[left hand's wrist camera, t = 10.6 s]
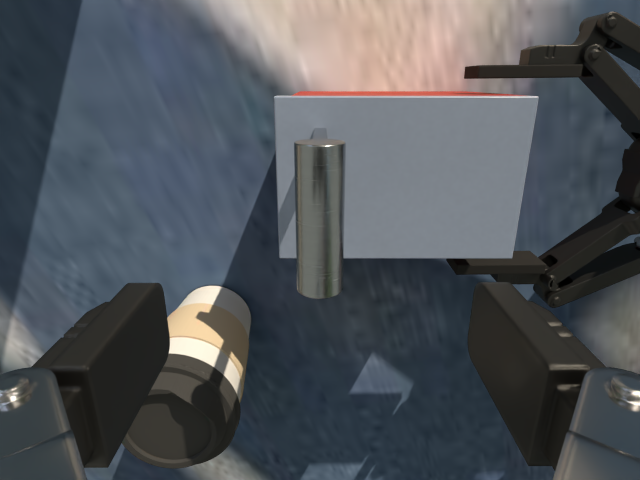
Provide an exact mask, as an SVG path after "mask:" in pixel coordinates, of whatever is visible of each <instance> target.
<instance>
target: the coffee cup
mask: <svg viewBox="0 0 640 480" xmlns="http://www.w3.org/2000/svg"><path fill="white" fill-rule="evenodd" d="M167 320H168V327H169V334H170V349H169V355H168V358H167V361H166V363H165V365H164V366H163V368H162V370H161V372H160V374H159V376H158V377H157V379H156V381H155V383H154V385H153V387H152V388H151V390H150V392H149V394H148V396H147V397H146V399H145V401H144V403H143V405H142V407H141V408H140V410H139V412H138V414H137V416H136V417H135V419H134V421H133V423H132V425H131V427H130V428H129V430H128V432H127V434H126V436H125V437H124V439H123V441H122V444H123V445H124V447H125V448H126V449H127V450H128V451H129V452H130V453H132V454H133V455H134V456H136V457H137V458H139V459H140V460H142V461H144V462H146V463H149V464H151V465H155V466H158V467H163V468H184V467H189V466H192V465H195V464H200V463H203V462H206V461H208V460H210V459H213V458H214V457H216V456H218V455H219V454H220V453H222V452H223V451H224V450H225V449H226V448H227V447H228V445H229V444H230V442H231V441H232V439H233V436H234V433H235V430H236V428H237V426H238V423H239V420H240V401H241V399H242V395H243V388H244V381H245V373H246V366H247V358H248V351H249V333H250V326H251V314H250V311H249V308H248V306H247V304H246V303H245V301H244V300H243V299H242V298H241V297H240V296H239V295H238V294H236V293H235V292H233V291H231V290H229V289H227V288H224V287H220V286H205V287H201V288H198V289H196V290H194V291H193V292H191V293H190V294H189V295H188V296H187V297H186V298H185V300H184V301H183V302H182V303H181V305H180V306H179V307H178V308H177V309H176V310H175V311H174V312H173V313H172V314H170V316H169V317H168V318H167Z"/></svg>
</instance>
